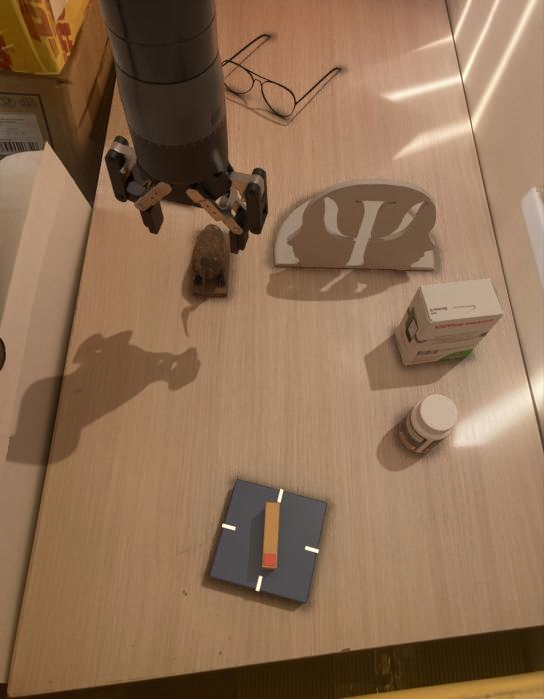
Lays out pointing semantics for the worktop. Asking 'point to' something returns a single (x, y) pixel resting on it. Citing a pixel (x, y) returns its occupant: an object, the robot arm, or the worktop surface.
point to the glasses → (268, 79)
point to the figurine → (211, 262)
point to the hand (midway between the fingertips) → (196, 236)
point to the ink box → (447, 320)
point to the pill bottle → (428, 423)
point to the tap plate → (247, 541)
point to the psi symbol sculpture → (360, 228)
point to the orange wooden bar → (270, 536)
